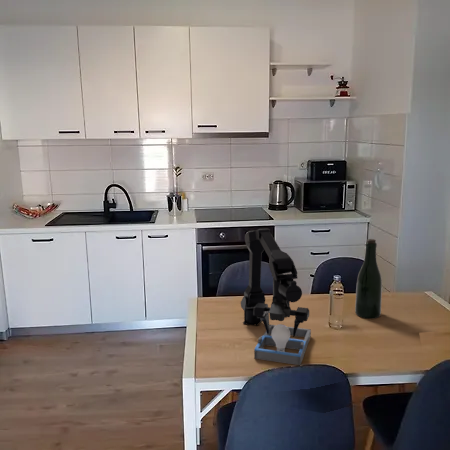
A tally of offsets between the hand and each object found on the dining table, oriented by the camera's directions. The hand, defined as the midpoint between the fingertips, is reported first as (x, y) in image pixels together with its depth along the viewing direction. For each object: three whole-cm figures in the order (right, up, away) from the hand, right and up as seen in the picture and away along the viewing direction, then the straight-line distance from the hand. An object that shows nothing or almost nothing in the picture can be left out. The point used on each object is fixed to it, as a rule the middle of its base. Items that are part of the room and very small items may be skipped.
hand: (281, 334), depth 159 cm
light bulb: (0, -7, +2) cm, 7 cm away
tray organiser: (+2, -6, +7) cm, 9 cm away
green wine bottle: (+41, 0, +35) cm, 54 cm away
